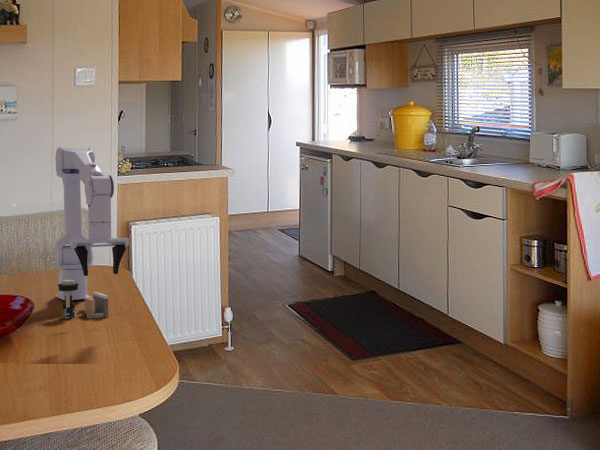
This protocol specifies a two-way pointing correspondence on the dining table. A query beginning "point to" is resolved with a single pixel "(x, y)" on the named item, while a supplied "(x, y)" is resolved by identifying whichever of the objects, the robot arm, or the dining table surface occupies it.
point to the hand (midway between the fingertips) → (100, 274)
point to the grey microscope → (68, 297)
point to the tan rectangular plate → (89, 305)
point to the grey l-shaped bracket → (98, 306)
